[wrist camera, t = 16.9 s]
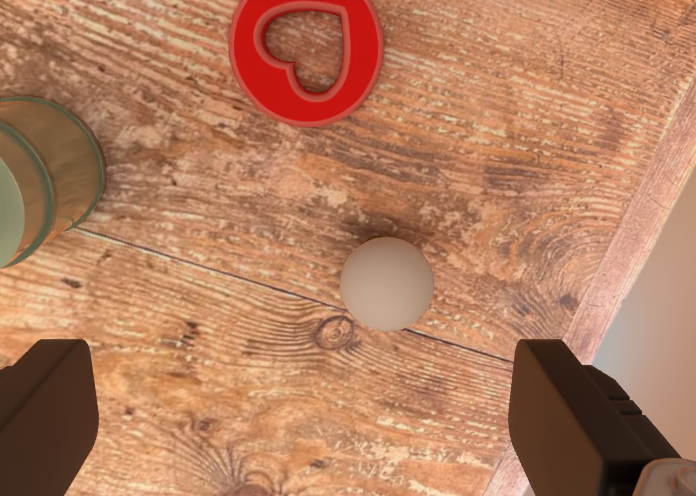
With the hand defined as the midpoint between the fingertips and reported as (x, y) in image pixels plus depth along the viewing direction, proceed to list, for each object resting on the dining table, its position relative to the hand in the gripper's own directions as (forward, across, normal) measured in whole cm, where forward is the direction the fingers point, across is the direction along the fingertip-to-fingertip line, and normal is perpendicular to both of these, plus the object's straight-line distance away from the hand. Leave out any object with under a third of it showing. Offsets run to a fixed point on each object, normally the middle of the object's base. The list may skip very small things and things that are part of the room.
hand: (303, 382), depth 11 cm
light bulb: (+32, -4, +8) cm, 34 cm away
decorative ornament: (+32, +1, -6) cm, 33 cm away
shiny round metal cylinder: (+32, +20, +2) cm, 38 cm away
